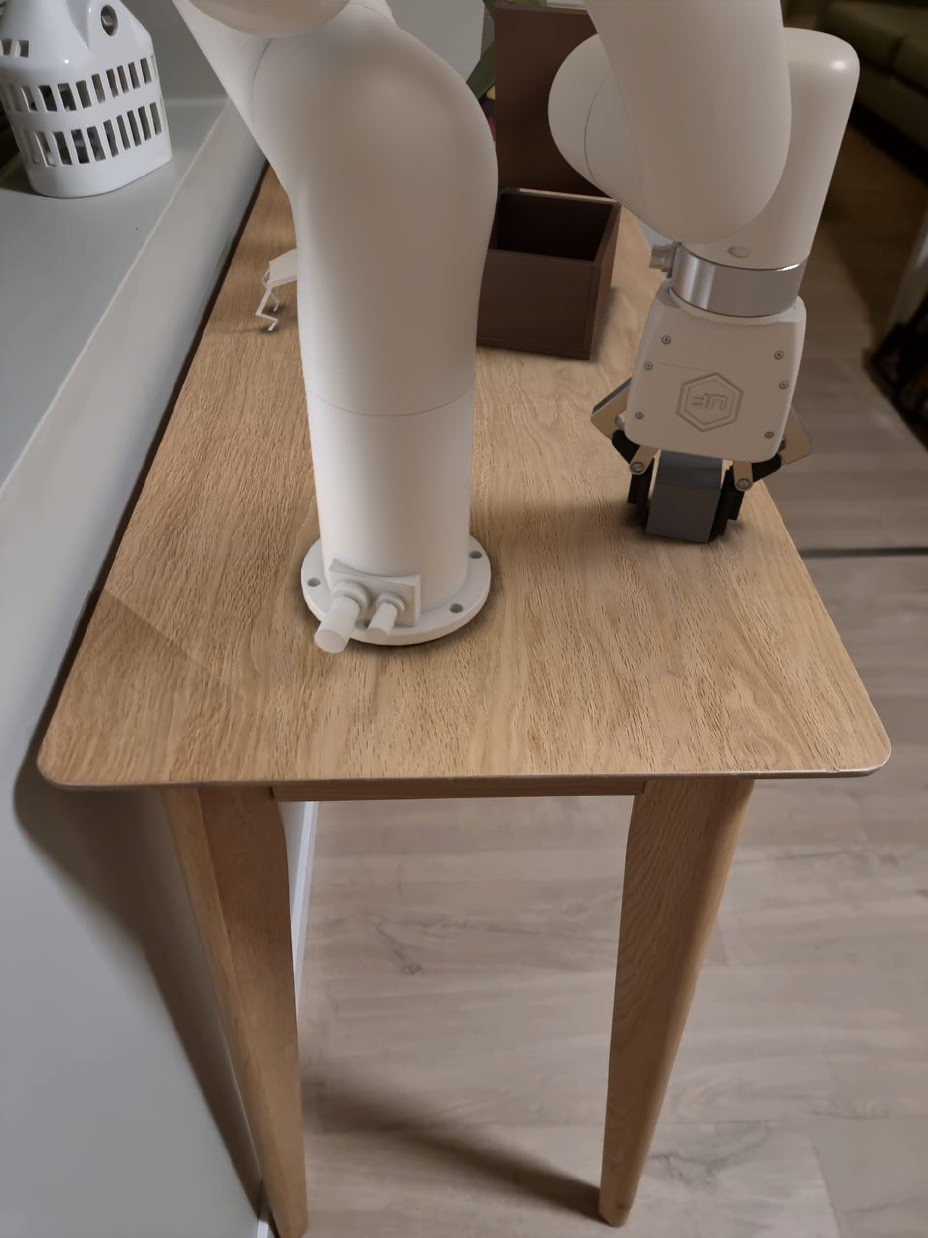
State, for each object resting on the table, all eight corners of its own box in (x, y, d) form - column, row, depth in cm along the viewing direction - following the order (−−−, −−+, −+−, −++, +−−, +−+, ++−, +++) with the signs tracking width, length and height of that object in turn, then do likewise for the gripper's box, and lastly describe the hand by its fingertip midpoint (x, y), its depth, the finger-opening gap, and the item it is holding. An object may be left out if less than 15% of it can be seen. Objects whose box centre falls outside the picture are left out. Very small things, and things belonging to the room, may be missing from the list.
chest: (589, 360, 85) (601, 265, 79) (456, 341, 87) (458, 248, 81) (610, 289, 96) (622, 202, 90) (492, 274, 98) (496, 187, 92)
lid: (644, 18, 75) (652, -13, 78) (493, 6, 77) (506, -24, 80) (622, 199, 89) (630, 168, 92) (495, 185, 91) (506, 155, 94)
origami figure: (340, 338, 87) (337, 287, 83) (252, 333, 87) (245, 282, 84) (359, 284, 95) (357, 236, 92) (279, 279, 96) (274, 231, 92)
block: (707, 543, 66) (720, 493, 63) (645, 533, 67) (655, 483, 64) (710, 507, 69) (722, 458, 66) (651, 498, 70) (661, 448, 67)
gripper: (585, 282, 54) (555, 528, 66) (890, 321, 51) (799, 569, 64) (602, 234, 59) (571, 470, 72) (879, 267, 56) (797, 506, 69)
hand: (679, 515), depth 67 cm, fingers open, 5 cm apart
